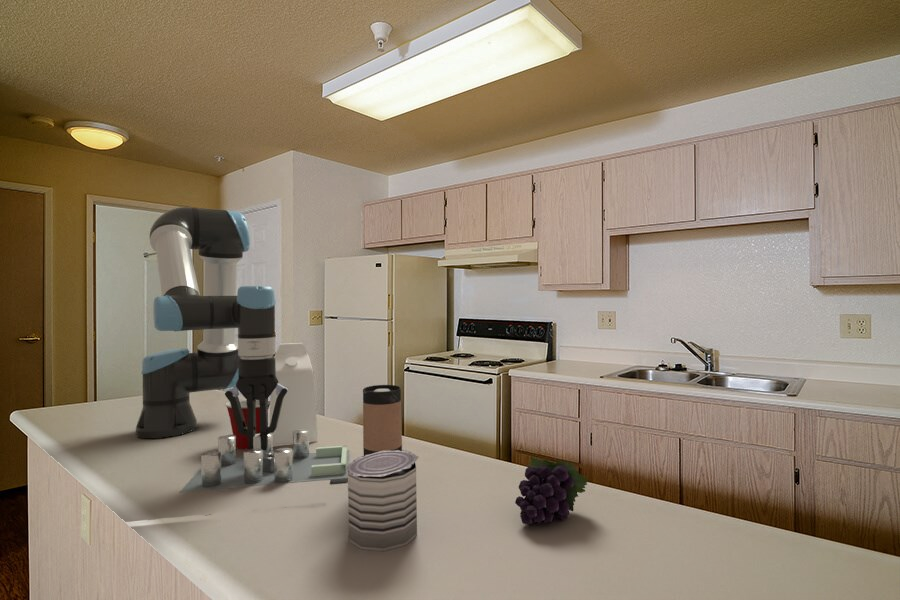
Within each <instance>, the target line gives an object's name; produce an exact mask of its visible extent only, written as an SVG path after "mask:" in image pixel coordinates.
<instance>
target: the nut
mask: <svg viewBox="0 0 900 600" xmlns="http://www.w3.org/2000/svg"><path fill="white" fill-rule="evenodd" d="M263 472H266V473H273V472H274V451H273V452H270V453H265V454H263Z"/></svg>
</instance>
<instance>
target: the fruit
mask: <svg viewBox="0 0 900 600" xmlns="http://www.w3.org/2000/svg"><path fill="white" fill-rule="evenodd" d="M529 458H530V461H531V462H528V463H529V464H525V466H526V468H525V471H524V477H525V478H526V479H523V480H520V482H519V485H518V489H519V492H520V495H521V496H520V495H519V496H517V497H516V498H515V502H514V504H515V505H516V506H518V507H519V509H520V510H521V511H520V513H519V514H520V515H519V516H520V519H521V523H522V524H525V525H527V526H529V525H535V524H536V523H542V522H544V523H550V522H553V519H554V517H555V516H556V517H557V519H560V520H562V521H564V520H566V519H567V518H570V511H571V512H574V509H575V508H574V506H575V502H576V501H577V500H576V498H578V497H579V495H578V494H582V493H584V492H586V490H585V489H586V486H588V482H589V479H588V478H587V477H584V476H583V475H582V474H580V473H579V470H577V469H576V467H575V464H574V463H573V462H567V461H565V460H564V461H563V460H562V459H558V460H557V461H556V462H553V461H552V460H551V461H550V460H548V459H538V458H537V457H532V456H530V457H529Z"/></svg>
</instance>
